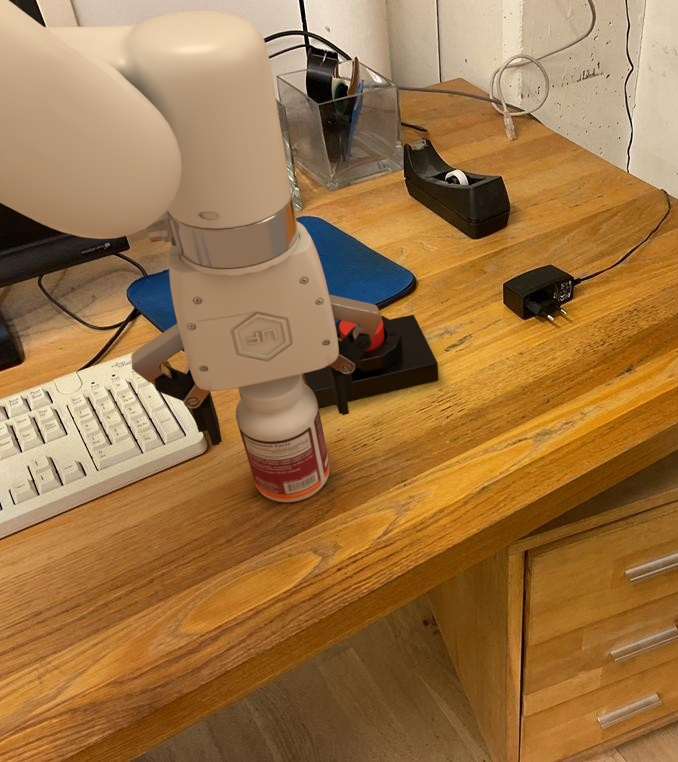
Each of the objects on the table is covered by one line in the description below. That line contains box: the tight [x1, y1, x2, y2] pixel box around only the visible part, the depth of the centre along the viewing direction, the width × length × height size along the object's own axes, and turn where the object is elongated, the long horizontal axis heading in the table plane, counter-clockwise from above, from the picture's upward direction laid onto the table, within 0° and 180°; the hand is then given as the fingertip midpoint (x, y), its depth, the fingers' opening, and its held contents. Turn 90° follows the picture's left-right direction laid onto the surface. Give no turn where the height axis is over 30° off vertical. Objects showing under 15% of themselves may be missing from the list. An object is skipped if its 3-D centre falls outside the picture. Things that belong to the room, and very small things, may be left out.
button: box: [339, 320, 384, 351], centre depth 75 cm, size 4×4×2 cm
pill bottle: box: [235, 374, 331, 503], centre depth 64 cm, size 6×6×11 cm
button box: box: [302, 314, 439, 409], centre depth 77 cm, size 12×8×4 cm, turn 111°
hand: (279, 417), depth 63 cm, fingers open, 9 cm apart
